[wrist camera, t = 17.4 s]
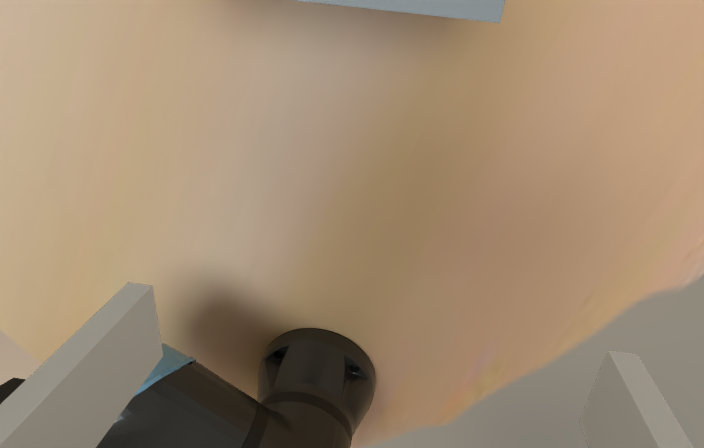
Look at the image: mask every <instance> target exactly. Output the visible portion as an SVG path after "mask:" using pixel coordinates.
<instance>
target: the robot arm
mask: <svg viewBox="0 0 704 448" xmlns="http://www.w3.org/2000/svg"><path fill="white" fill-rule="evenodd" d="M374 389H375V372H374V368H373V366H372V364H371V362H370V360H369V358H368V357H367V355H366V354H365V353H364V352H363V351H362V350H361V349H360V348H359V347H358V346H357V345H355V344H354V343H353V342H351V341H350V340H348V339H346V338H344V337H342V336H340V335H338V334H335V333H332V332H329V331H325V330H319V329H299V330H294V331H290V332H288V333H285V334H283V335H281V336H279V337H278V338H277V339H275V340H274V341H273V342H272V343H271V344H270V345H269V347H268V348H267V350H266V352H265V355H264V357H263V359H262V361H261V364H260V367H259V373H258V399H257V401H256V400H255V399H253V398H252V397H250V396H249V395H247V394H245V393H244V392H242V391H241V390H239V389H237V388H236V387H234V386H233V385H231V384H230V383H228V382H226V381H225V380H223V379H222V378H220V377H219V376H217V375H216V374H214V373H213V372H211V371H210V370H208V369H207V368H205V367H204V366H202V365H201V364H199V363H198V362H196V359H195V358H193V357H190V358H189V357H187V356H186V355H184V354H182V353H180V352H178V351H176V350H175V349H173V348H171V347H170V346H168V345H166V344H162V343H161V337H160V331H159V324H158V318H157V312H156V305H155V299H154V292H153V286H152V285H145V284H138V283H131V282H128V283H127V284H126V285H125V286H124V287H123V288H122V289H121V290H120V291H119V292H118V293H117V294H116V295H115V296H113V297H112V298H111V299H110V300H109V301H108V302H107V303H106V304H105V305H104V306H103V307H102V308H101V309H100V310H99V311H98V312H97V313H96V314H95V315H94V316H93V317H91V318H90V319H89V320H88V321H87V322H86V323H85V324H84V325H83V326H82V327H81V328H80V329H79V330H78V331H77V332H76V333H75V334H74V335H73V336H72V337H70V338H69V339H68V340H67V341H66V342H65V343H64V344H63V345H62V346H61V347H60V348H59V349H58V350H57V351H56V352H55V353H54V354H53V355H52V356H51V357H49V358H48V359H47V360H46V361H45V362H44V363H43V364H42V365H41V366H40V367H39V368H38V369H37V370H36V371H35V372H34V373H33V374H32V375H31V376H30V377H28V379H26V380H25V379H18V378H13V379H11V380H9V381H7V382H6V383H4V384H2V385H0V448H350V446H351V440H352V436H353V434H354V432H355V431H356V429H357V427H358V426H359V424H360V422H361V421H362V419H363V417H364V416H365V414H366V412H367V411H368V409H369V407H370V405H371V403H372V400H373V396H374ZM579 423H580V425H581V428H582V431H583V434H584V436H585V439H586V442H587V444H588V447H589V448H693V446H692V445H691V443H690V441H689V440H688V438H687V436H686V435H685V433H684V431H683V430H682V428H681V426H680V425H679V423H678V421H677V420H676V418H675V416H674V415H673V413H672V411H671V410H670V408H669V406H668V405H667V403H666V401H665V400H664V398H663V396H662V395H661V393H660V391H659V390H658V388H657V386H656V385H655V383H654V381H653V380H652V378H651V376H650V375H649V373H648V371H647V370H646V368H645V366H644V365H643V363H642V361H641V360H640V358H639V356H638V355H637V354H630V353H624V352H617V351H609V350H608V351H607V354H606V356H605V359H604V361H603V364H602V366H601V368H600V371H599V373H598V376H597V378H596V381H595V383H594V385H593V388H592V390H591V393H590V395H589V398H588V400H587V403H586V405H585V407H584V410H583V412H582V415H581V417H580V420H579Z"/></svg>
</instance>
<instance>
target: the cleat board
mask: <svg viewBox="0 0 704 448" xmlns="http://www.w3.org/2000/svg"><path fill="white" fill-rule="evenodd" d="M295 1H304V2H313V3H323V4H332V5H341V6H350V7H359V8H368V9H377V10H386V11H395V12H404V13H413V14H422V15H431V16H440V17H449V18H458V19H467V20H476V21H485V22H494V23H500V21H501V17H502V12H503V8H504V3H505V0H295Z"/></svg>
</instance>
